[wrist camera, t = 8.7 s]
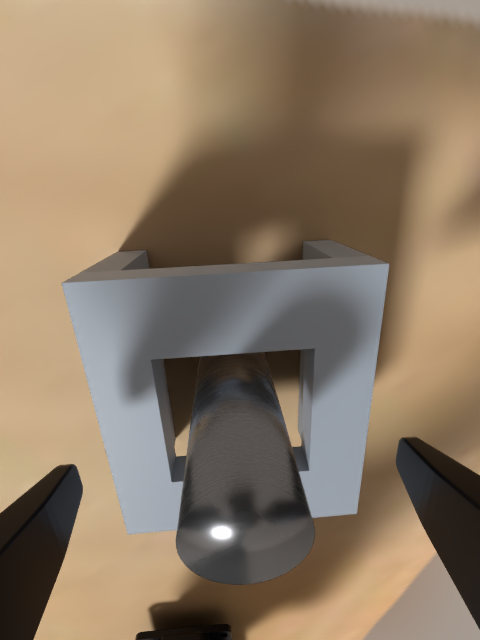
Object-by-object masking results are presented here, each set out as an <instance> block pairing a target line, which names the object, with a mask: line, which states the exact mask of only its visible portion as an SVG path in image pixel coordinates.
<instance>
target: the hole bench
mask: <svg viewBox="0 0 480 640" xmlns="http://www.w3.org/2000/svg"><path fill="white" fill-rule="evenodd" d="M388 270H389V263H387V262H384V261H382V260H379V259H377V258H374V257H372V256H369V255H367V254H365V253H362V252H360V251H357V250H355V249H352V248H350V247H347V246H345V245H343V244H340V243H338V242H335V241H333V240H318V241H303V260H291V261H274V262H257V263H240V264H223V265H205V266H188V267H171V268H154V269H149V263H148V256H147V250H139V251H122V252H116V253H114V254H112V255H111V256H109V257H107V258H105V259H104V260H102V261H100V262H98V263H96V264H95V265H93V266H91V267H89V268H88V269H86V270H84V271H82V272H80V273H79V274H77V275H75V276H73V277H72V278H70V279H68V280H66V281H64V282H63V283H62V286H63V290H64V294H65V297H66V301H67V305H68V309H69V313H70V317H71V320H72V324H73V328H74V332H75V336H76V339H77V343H78V347H79V351H80V355H81V358H82V362H83V366H84V370H85V374H86V377H87V381H88V385H89V389H90V393H91V396H92V400H93V404H94V408H95V412H96V415H97V419H98V423H99V427H100V431H101V434H102V438H103V442H104V446H105V450H106V454H107V457H108V461H109V465H110V469H111V473H112V476H113V480H114V484H115V488H116V492H117V495H118V499H119V503H120V507H121V511H122V514H123V518H124V522H125V526H126V530H127V533H128V534H138V533H149V532H160V531H172V530H177V527H178V519H179V512H180V504H181V496H182V488H183V480H184V472H185V464H186V456H178V457H176V454H175V448H174V446H175V440H176V438H175V432H174V425H173V419H172V412H171V406H170V399H169V393H168V386H167V380H166V373H165V367H164V360H163V359H169V358H183V357H198V356H212V355H227V354H241V353H256V352H270V351H285V350H299V349H300V375H299V411H298V431H299V434H300V437H301V440H302V444H301V447H292V449H293V453H294V456H295V460H296V463H297V467H298V470H299V474H300V477H301V481H302V484H303V488H304V491H305V495H306V498H307V502H308V505H309V509H310V512H311V516H312V518H316V517H327V516H338V515H349V514H357V509H358V501H359V493H360V486H361V478H362V470H363V463H364V455H365V447H366V440H367V432H368V424H369V417H370V409H371V401H372V393H373V386H374V378H375V370H376V363H377V355H378V347H379V340H380V332H381V324H382V317H383V309H384V301H385V294H386V286H387V278H388Z"/></svg>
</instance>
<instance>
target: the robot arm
mask: <svg viewBox="0 0 480 640" xmlns="http://www.w3.org/2000/svg"><path fill="white" fill-rule="evenodd" d="M396 466H397V469H398V471H399V474H400V476H401V478H402V480H403V483H404V485H405V487H406V490H407V492H408V494H409V497H410V499H411V501H412V503H413V506H414V508H415V510H416V513H417V515H418V517H419V519H420V521H421V523H422V525H423V527H424V529H425V531H426V533H427V535H428V537H429V539H430V540H431V542H432V544H433V546H434V548H435V549H436V551H437V553H438V555H439V557H440V559H441V560H442V562H443V564H444V566H445V568H446V569H447V571H448V573H449V575H450V576H451V578H452V580H453V582H454V584H455V586H456V587H457V589H458V591H459V593H460V595H461V596H462V598H463V600H464V602H465V604H466V605H467V607H468V609H469V611H470V613H471V615H472V617H473V618H474V620H475V622H476V624H477V625H478V627H479V629H480V475H478V474H477V473H475V472H473V471H472V470H470V469H468V468H467V467H465V466H463V465H462V464H460V463H458V462H457V461H455V460H454V459H452V458H450V457H449V456H447V455H445V454H444V453H442V452H440V451H439V450H437V449H435V448H434V447H432V446H430V445H429V444H427V443H425V442H424V441H422V440H420V439H419V438H417V437H404V438H401V439H400V440H399V445H398V450H397V456H396ZM82 493H83V486H82V482H81V479H80V476H79V473H78V470H77V467H76V466H75V465H74V464H67V465H59V466H57V467H56V468H55V469H53V470H52V471H51V472H50V473H49V474H47V475H46V476H45V477H44V478H42V479H41V480H40V481H39V482H38V483H36V484H35V485H34V486H33V487H32V488H30V489H29V490H28V491H27V492H26V493H24V494H23V495H22V496H21V497H19V498H18V499H17V500H16V501H15V502H13V503H12V504H11V505H10V506H9V507H7V508H6V509H5V510H4V511H2V512H1V513H0V640H33V639H34V636H35V634H36V631H37V629H38V626H39V623H40V621H41V618H42V616H43V613H44V610H45V608H46V605H47V602H48V600H49V597H50V595H51V592H52V589H53V587H54V584H55V582H56V579H57V576H58V574H59V571H60V569H61V566H62V563H63V560H64V557H65V554H66V551H67V548H68V544H69V541H70V537H71V533H72V530H73V526H74V523H75V519H76V515H77V512H78V508H79V505H80V501H81V498H82ZM136 640H232V630H231V626H230V625H229V624H215V625H205V626H195V627H186V628H176V629H166V630H156V631H146V632H140V633H138V634H137V635H136Z"/></svg>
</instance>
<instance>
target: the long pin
mask: <svg viewBox="0 0 480 640" xmlns="http://www.w3.org/2000/svg"><path fill="white" fill-rule="evenodd" d="M314 538H315V527H314V523H313V519H312V516H311V512H310V509H309V505H308V502H307V498H306V495H305V491H304V488H303V484H302V481H301V477H300V474H299V470H298V467H297V463H296V460H295V456H294V453H293V449H292V446H291V442H290V439H289V436H288V432H287V429H286V425H285V422H284V418H283V415H282V411H281V408H280V404H279V401H278V397H277V394H276V390H275V387H274V383H273V380H272V376H271V373H270V369H269V366H268V362H267V359H266V355H265V352H256V353H241V354H227V355H212V356H199V362H198V370H197V378H196V386H195V394H194V401H193V409H192V417H191V425H190V433H189V441H188V449H187V456H186V464H185V472H184V480H183V488H182V496H181V504H180V512H179V519H178V527H177V535H176V548H177V552H178V554H179V556H180V558H181V560H182V561H183V563H184V564H185V565H186V566H187V567H188V568H189V569H190V570H191V571H193V572H194V573H196V574H197V575H199V576H201V577H203V578H206V579H208V580H211V581H214V582H219V583H223V584H232V585H244V584H254V583H260V582H264V581H268V580H271V579H274V578H276V577H279V576H281V575H283V574H285V573H287V572H289V571H290V570H292V569H293V568H295V567H296V566H297V565H298V564H300V563H301V562H302V561H303V559H304V558H305V557H306V556H307V555H308V553H309V552H310V550H311V548H312V545H313V543H314Z"/></svg>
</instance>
